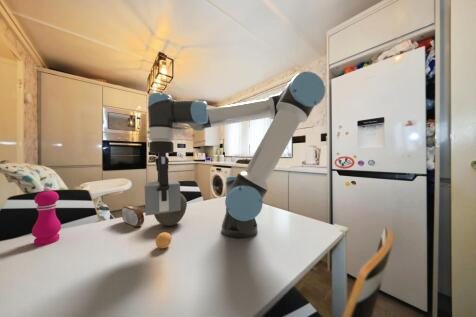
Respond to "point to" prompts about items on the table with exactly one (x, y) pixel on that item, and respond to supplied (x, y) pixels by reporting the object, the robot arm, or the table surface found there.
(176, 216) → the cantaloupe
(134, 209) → the tin
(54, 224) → the pepper mill
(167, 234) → the ball
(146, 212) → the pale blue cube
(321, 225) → the table surface
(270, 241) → the table surface
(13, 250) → the table surface
